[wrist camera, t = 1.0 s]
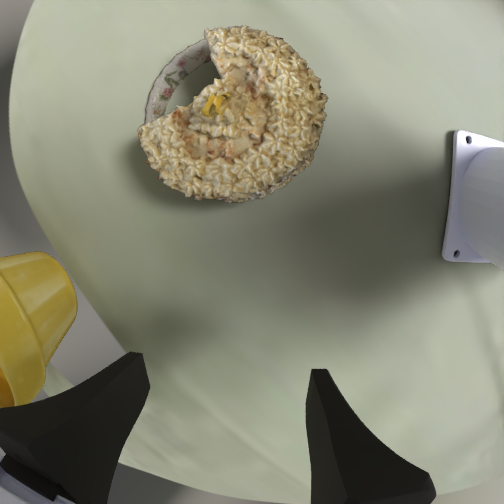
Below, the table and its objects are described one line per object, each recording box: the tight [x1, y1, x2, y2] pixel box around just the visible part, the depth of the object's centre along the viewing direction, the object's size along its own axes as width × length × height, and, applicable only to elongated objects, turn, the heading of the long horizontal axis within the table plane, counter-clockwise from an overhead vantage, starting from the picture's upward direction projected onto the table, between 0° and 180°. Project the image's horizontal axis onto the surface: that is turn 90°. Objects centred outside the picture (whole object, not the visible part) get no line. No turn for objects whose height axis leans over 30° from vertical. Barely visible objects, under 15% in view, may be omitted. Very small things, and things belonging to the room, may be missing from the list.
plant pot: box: [0, 251, 77, 408], centre depth 15 cm, size 10×10×10 cm
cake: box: [137, 25, 328, 203], centre depth 13 cm, size 10×10×5 cm
